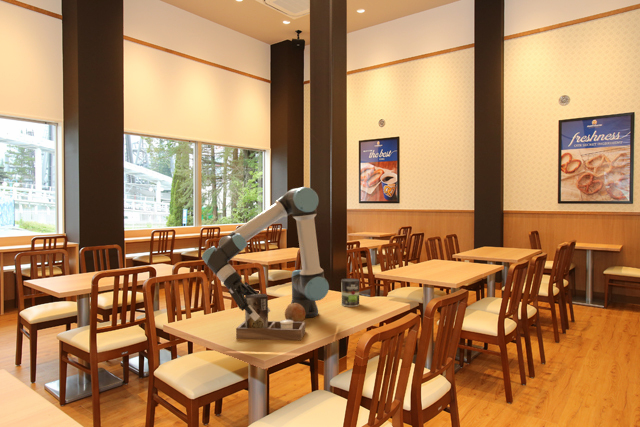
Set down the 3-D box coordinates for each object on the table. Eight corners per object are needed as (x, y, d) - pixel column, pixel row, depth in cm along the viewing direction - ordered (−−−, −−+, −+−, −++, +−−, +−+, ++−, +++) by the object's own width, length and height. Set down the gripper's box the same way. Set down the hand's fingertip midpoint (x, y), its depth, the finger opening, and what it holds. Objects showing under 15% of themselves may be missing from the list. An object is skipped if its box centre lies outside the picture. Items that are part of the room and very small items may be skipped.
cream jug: (281, 333, 176) (281, 319, 176) (294, 333, 175) (294, 319, 175) (278, 337, 170) (278, 323, 170) (292, 337, 170) (291, 323, 170)
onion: (308, 322, 196) (307, 301, 196) (302, 327, 187) (302, 305, 186) (288, 320, 199) (288, 300, 198) (282, 326, 189) (281, 304, 189)
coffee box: (266, 330, 179) (266, 293, 179) (268, 334, 172) (268, 296, 173) (244, 332, 176) (244, 294, 176) (246, 336, 170) (246, 297, 170)
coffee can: (362, 306, 228) (361, 280, 228) (344, 307, 225) (344, 281, 225) (356, 302, 238) (356, 277, 238) (339, 303, 235) (338, 278, 235)
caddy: (245, 331, 181) (244, 320, 181) (305, 333, 178) (305, 322, 178) (236, 340, 169) (236, 328, 169) (300, 342, 166) (300, 330, 166)
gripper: (236, 278, 189) (268, 315, 185) (209, 287, 168) (244, 329, 163) (247, 267, 188) (279, 303, 183) (221, 275, 166) (257, 316, 162)
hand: (263, 315), depth 173 cm, fingers open, 10 cm apart
